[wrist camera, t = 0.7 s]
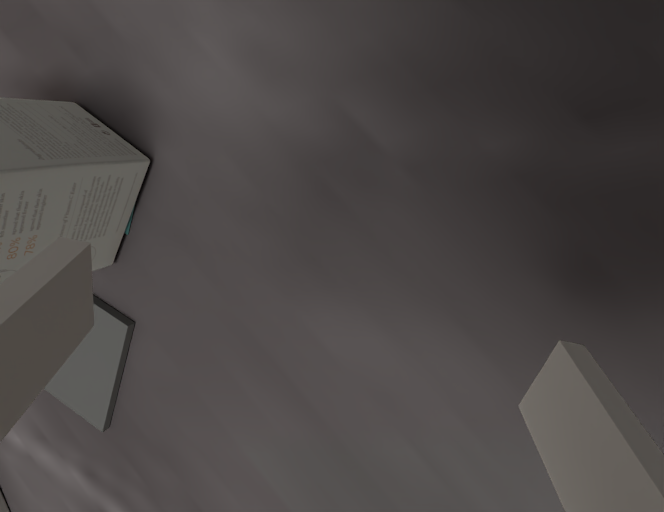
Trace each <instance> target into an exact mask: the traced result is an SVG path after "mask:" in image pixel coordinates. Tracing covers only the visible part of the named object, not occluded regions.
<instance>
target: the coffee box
mask: <svg viewBox="0 0 664 512" xmlns="http://www.w3.org/2000/svg"><path fill="white" fill-rule="evenodd" d="M0 512H10V511H9V509H8V507H7V504H6V502H5V500H4V498H3V495H2V493H1V491H0Z"/></svg>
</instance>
